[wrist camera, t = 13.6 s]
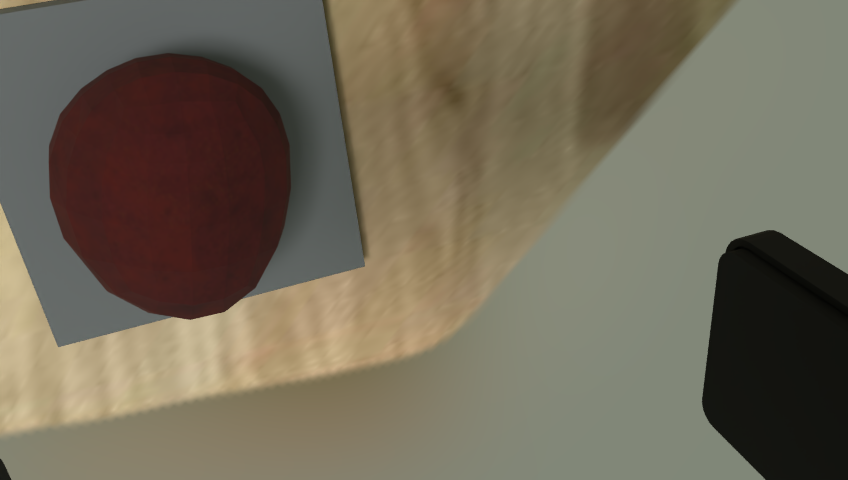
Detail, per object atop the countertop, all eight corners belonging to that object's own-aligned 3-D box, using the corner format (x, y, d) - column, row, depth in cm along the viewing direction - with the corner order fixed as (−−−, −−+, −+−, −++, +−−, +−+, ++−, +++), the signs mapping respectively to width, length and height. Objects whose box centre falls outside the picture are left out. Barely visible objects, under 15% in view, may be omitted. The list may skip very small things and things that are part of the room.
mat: (-64, 19, 25) (-71, 25, 24) (310, -42, 28) (316, -38, 27) (59, 333, 30) (57, 347, 30) (358, 255, 33) (365, 266, 33)
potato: (298, 61, 28) (339, 108, 23) (246, 283, 31) (272, 369, 26) (68, 9, 25) (56, 51, 20) (36, 261, 28) (18, 354, 23)
